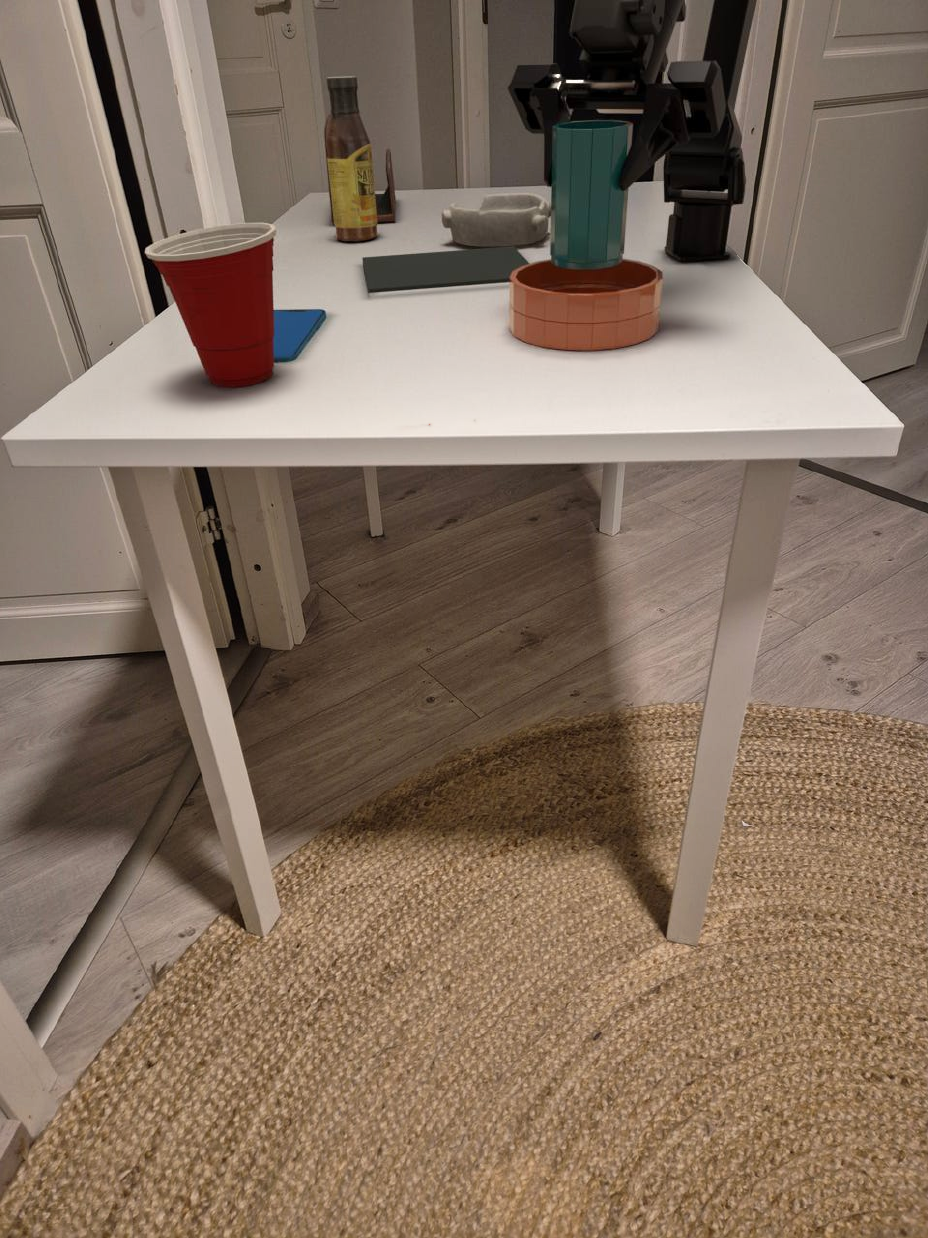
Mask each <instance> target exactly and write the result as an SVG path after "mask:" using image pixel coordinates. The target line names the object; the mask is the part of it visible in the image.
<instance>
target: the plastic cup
mask: <svg viewBox="0 0 928 1238" xmlns="http://www.w3.org/2000/svg"><path fill="white" fill-rule="evenodd" d="M276 236H277V228H276V226H275V224H272V223H266V222H238V223H231V224H229V223H228V224H221V225H215V226H210V227H204V228H199V229H195V230H191V231H185V232H183V233H179V234H175V235H173V236H169V237H166V238H163V239H161V240H158V241H155V242H154V243H152V244H150V245H148V246H146V247H145V250H144V254H145V257H147V259H149V260H151V262H152V263H153V264H154V265H155V267H157V269H158V272H159V273H160V275H161V276H162V278H163V280H164V282H165V284H166V286H167V287H168V288H169V291H170V294H171V296H172V298H173V300H174V302H175V305H176V307H177V309H178V312H179V314H180V317H181V319H182V322H183V324H184V327H185V329H186V331H187V334H188V336H189V339H190V341H191V343H192V346H193V347H194V348H195V350H196V352H197V353H196V354H197V355H198V358H199V360H200V362H201V365H202V368H203V370H204V373H205V376H206V377H207V378H208V380H209V382H210V383H211V384H213V385H215V386H218V387H225V388H229V387H230V388H239V387H245V386H246V387H247V386H251V385H256V384H258V383H262V382H263V381H265V380H268V379H270V378H271V376H272V375H273V374H274V366H275V362H274V351H273V337H274V310H275V308H274V280H273V279H274V277H273V275H274V273H273V271H274V259H273V258H274V246H275V245H274V241H275V237H276Z"/></svg>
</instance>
